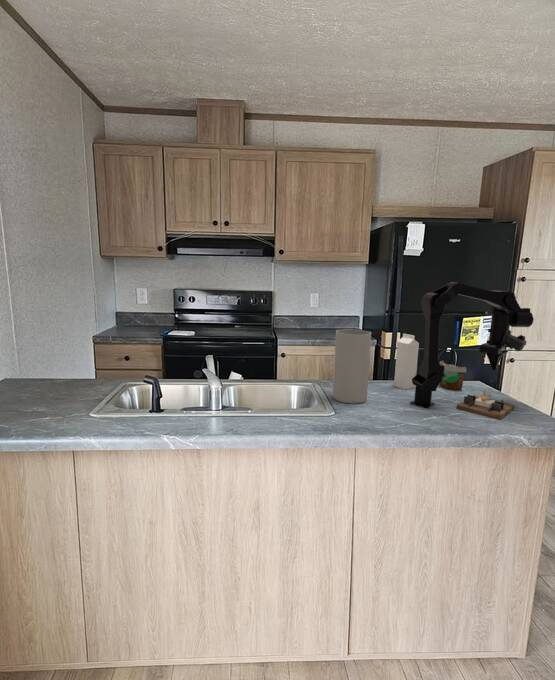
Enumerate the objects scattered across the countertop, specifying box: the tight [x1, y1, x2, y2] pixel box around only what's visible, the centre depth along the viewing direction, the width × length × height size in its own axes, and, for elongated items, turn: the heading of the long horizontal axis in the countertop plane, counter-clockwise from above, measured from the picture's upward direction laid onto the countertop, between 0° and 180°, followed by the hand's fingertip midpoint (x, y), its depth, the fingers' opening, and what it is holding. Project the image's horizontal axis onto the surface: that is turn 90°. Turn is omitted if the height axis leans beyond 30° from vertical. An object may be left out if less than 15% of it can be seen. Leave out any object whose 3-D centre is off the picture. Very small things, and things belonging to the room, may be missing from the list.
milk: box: [393, 333, 420, 390], centre depth 161 cm, size 6×6×22 cm
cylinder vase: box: [332, 328, 372, 405], centre depth 144 cm, size 12×12×25 cm
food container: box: [439, 360, 467, 391], centre depth 163 cm, size 12×6×10 cm, turn 25°
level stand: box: [456, 394, 516, 420], centre depth 139 cm, size 16×14×4 cm
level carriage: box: [475, 387, 496, 408], centre depth 137 cm, size 5×5×6 cm
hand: (494, 369), depth 142 cm, fingers closed
